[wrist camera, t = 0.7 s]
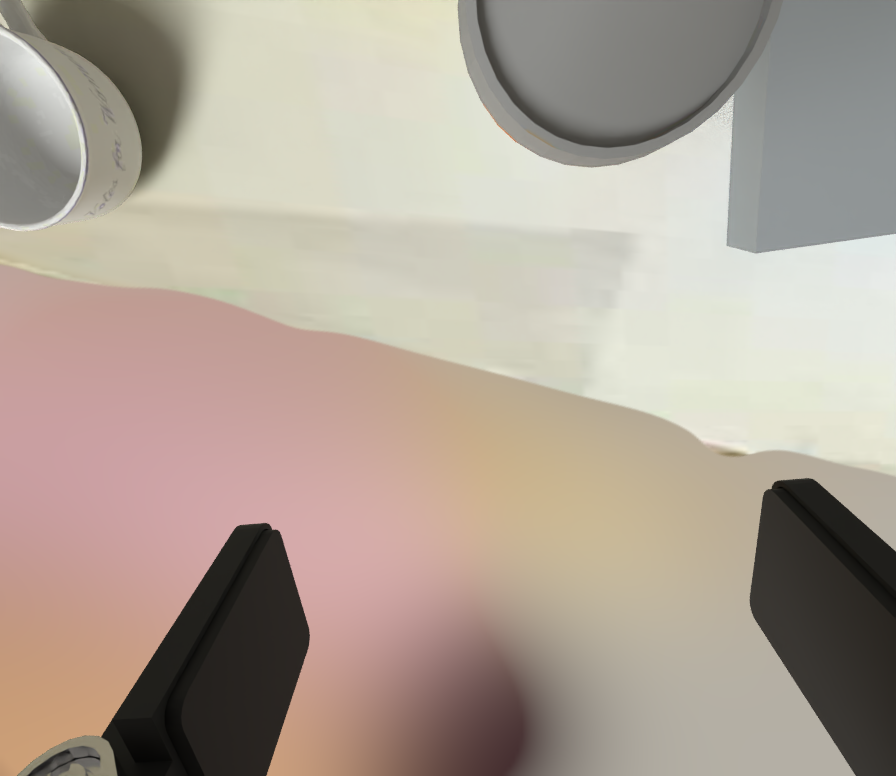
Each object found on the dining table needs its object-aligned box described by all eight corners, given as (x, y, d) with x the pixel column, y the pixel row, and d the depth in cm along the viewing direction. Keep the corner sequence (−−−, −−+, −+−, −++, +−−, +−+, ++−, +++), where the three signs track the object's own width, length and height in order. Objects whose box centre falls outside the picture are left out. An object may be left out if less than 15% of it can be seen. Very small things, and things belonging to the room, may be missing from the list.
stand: (740, -27, 31) (777, -54, 28) (1029, -80, 30) (1109, -116, 26) (726, 245, 37) (755, 253, 33) (967, 211, 36) (1025, 215, 32)
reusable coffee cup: (430, 1, 32) (402, -131, 18) (629, -102, 30) (768, -340, 16) (500, 200, 36) (521, 214, 23) (679, 122, 34) (824, 86, 20)
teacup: (166, 232, 38) (94, 246, 31) (16, 206, 38) (-93, 214, 30) (157, 6, 33) (67, -43, 25) (-17, -26, 33) (-159, -85, 25)
